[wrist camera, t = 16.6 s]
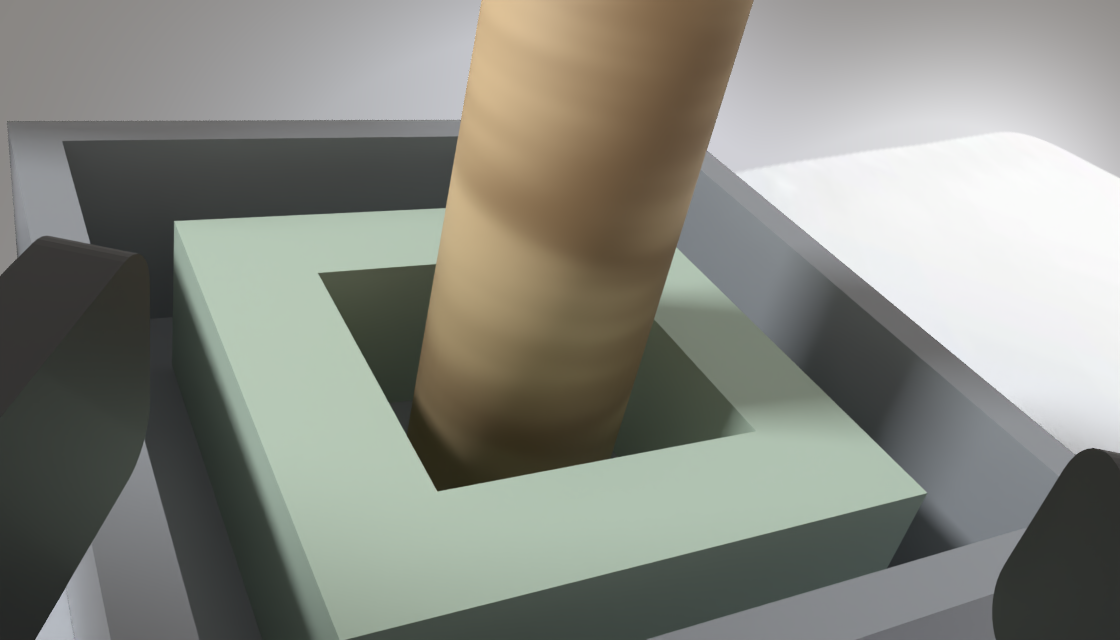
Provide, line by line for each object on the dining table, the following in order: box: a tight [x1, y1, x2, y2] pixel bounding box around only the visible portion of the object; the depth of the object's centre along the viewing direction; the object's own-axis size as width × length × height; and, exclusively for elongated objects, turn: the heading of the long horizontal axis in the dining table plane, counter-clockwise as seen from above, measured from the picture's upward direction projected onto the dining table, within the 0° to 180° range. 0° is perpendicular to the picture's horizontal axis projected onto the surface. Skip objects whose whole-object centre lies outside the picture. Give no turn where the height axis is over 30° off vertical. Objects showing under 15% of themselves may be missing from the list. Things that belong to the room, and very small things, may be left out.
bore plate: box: [172, 208, 927, 640], centre depth 23 cm, size 12×12×4 cm
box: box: [7, 120, 1075, 640], centre depth 23 cm, size 18×18×6 cm
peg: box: [407, 0, 753, 492], centre depth 20 cm, size 4×4×16 cm
